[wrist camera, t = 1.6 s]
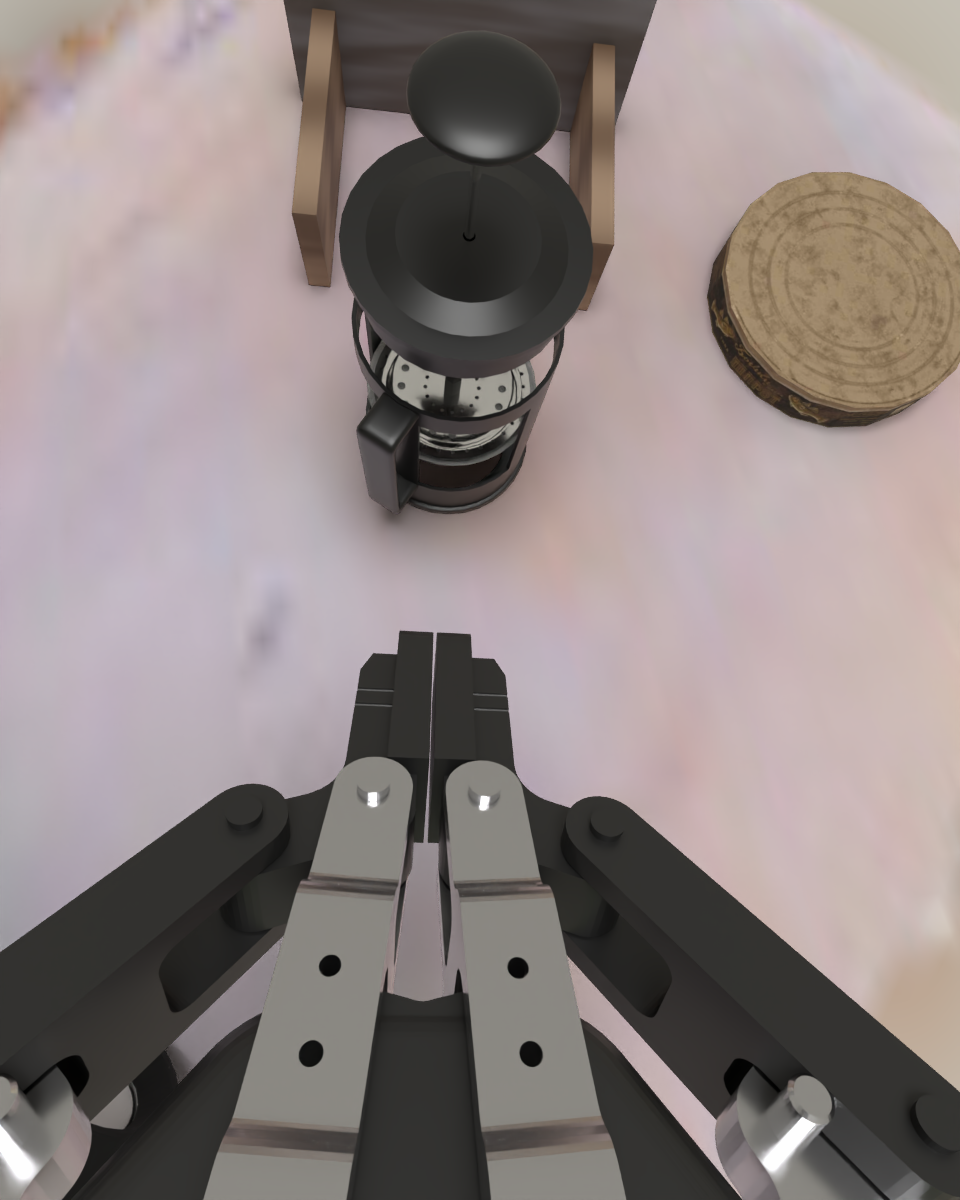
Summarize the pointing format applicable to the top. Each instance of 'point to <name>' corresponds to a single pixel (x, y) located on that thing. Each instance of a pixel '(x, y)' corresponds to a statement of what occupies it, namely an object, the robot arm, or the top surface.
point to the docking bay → (383, 64)
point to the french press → (462, 271)
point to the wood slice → (838, 299)
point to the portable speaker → (126, 1116)
